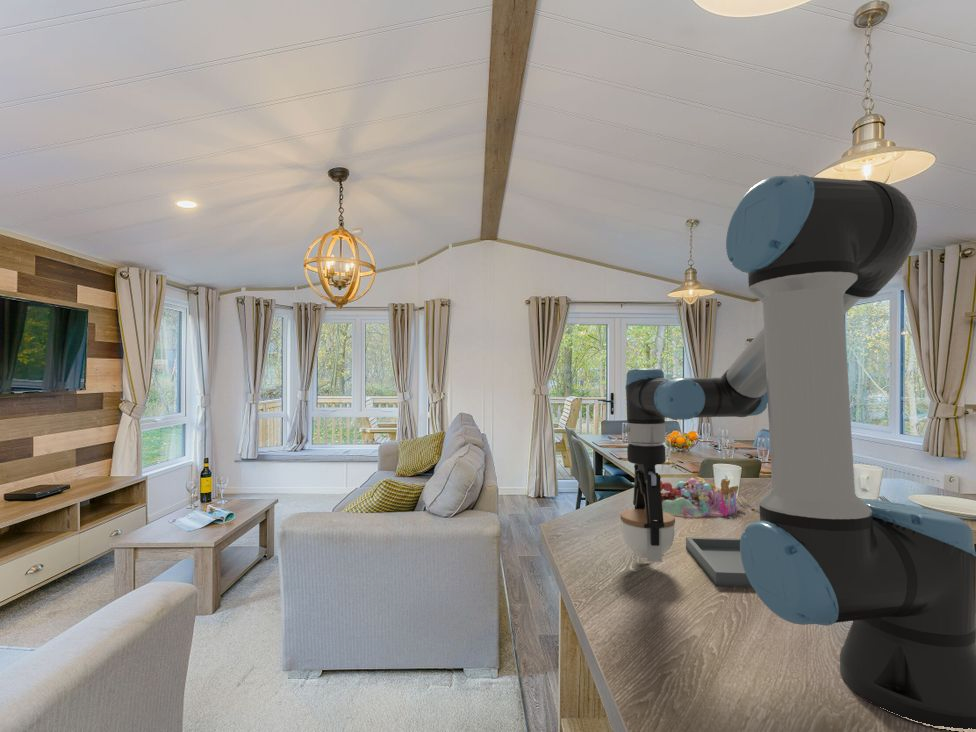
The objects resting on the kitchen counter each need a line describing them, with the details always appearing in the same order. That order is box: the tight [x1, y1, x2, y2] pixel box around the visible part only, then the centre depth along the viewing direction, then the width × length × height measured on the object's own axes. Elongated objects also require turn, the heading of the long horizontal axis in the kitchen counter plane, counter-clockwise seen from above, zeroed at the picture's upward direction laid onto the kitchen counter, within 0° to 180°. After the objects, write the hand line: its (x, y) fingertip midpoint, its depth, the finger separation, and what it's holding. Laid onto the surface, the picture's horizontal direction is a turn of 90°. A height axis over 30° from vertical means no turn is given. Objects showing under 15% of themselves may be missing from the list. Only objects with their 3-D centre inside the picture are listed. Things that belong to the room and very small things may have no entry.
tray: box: [685, 536, 753, 588], centre depth 104 cm, size 20×20×2 cm
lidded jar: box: [620, 508, 676, 559], centre depth 104 cm, size 11×11×9 cm
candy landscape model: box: [660, 476, 739, 519], centre depth 149 cm, size 25×24×9 cm
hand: (648, 551), depth 104 cm, fingers closed on lidded jar, 11 cm apart
